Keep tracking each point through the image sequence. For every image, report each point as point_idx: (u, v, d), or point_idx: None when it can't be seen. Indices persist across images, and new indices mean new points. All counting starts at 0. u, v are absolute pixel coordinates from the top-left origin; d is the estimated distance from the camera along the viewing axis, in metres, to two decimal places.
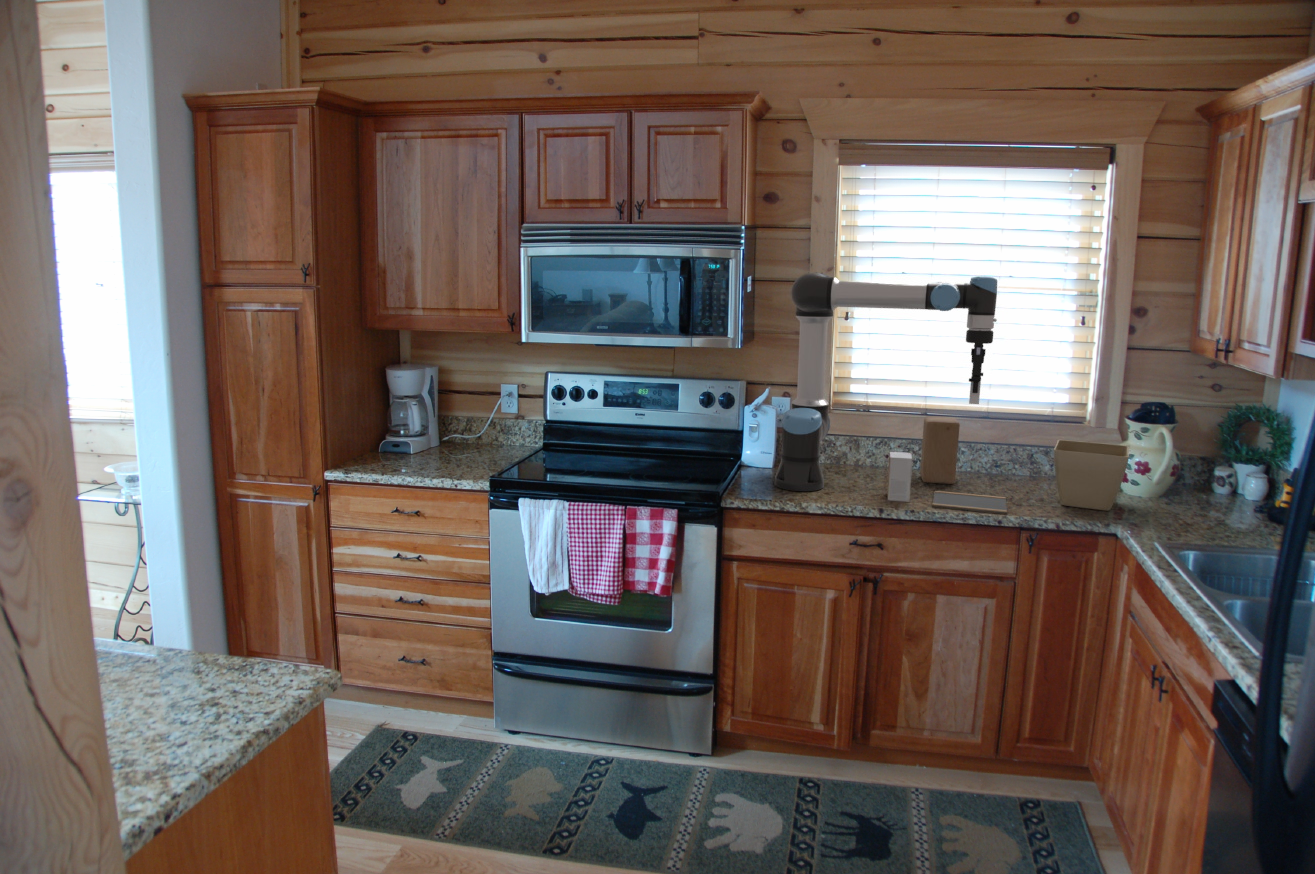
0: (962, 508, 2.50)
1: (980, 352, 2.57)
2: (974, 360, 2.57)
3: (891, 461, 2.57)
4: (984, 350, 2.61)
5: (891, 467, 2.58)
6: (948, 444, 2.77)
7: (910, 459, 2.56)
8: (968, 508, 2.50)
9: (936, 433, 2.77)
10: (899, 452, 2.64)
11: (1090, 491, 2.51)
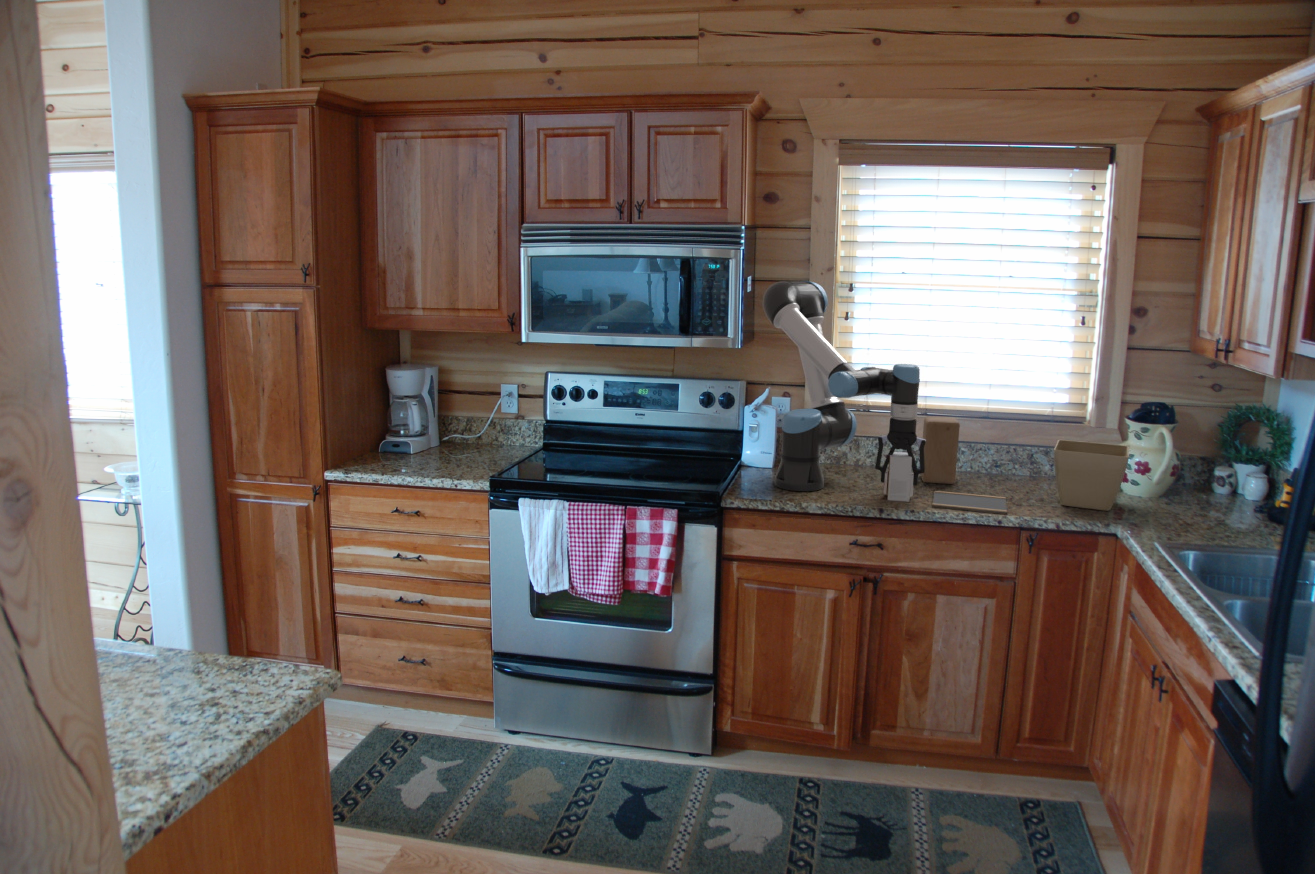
0: (962, 508, 2.50)
1: None
2: None
3: (891, 461, 2.57)
4: (895, 439, 2.58)
5: (891, 467, 2.58)
6: (948, 444, 2.77)
7: (910, 459, 2.56)
8: (968, 508, 2.50)
9: (936, 433, 2.77)
10: (899, 452, 2.64)
11: (1090, 491, 2.51)
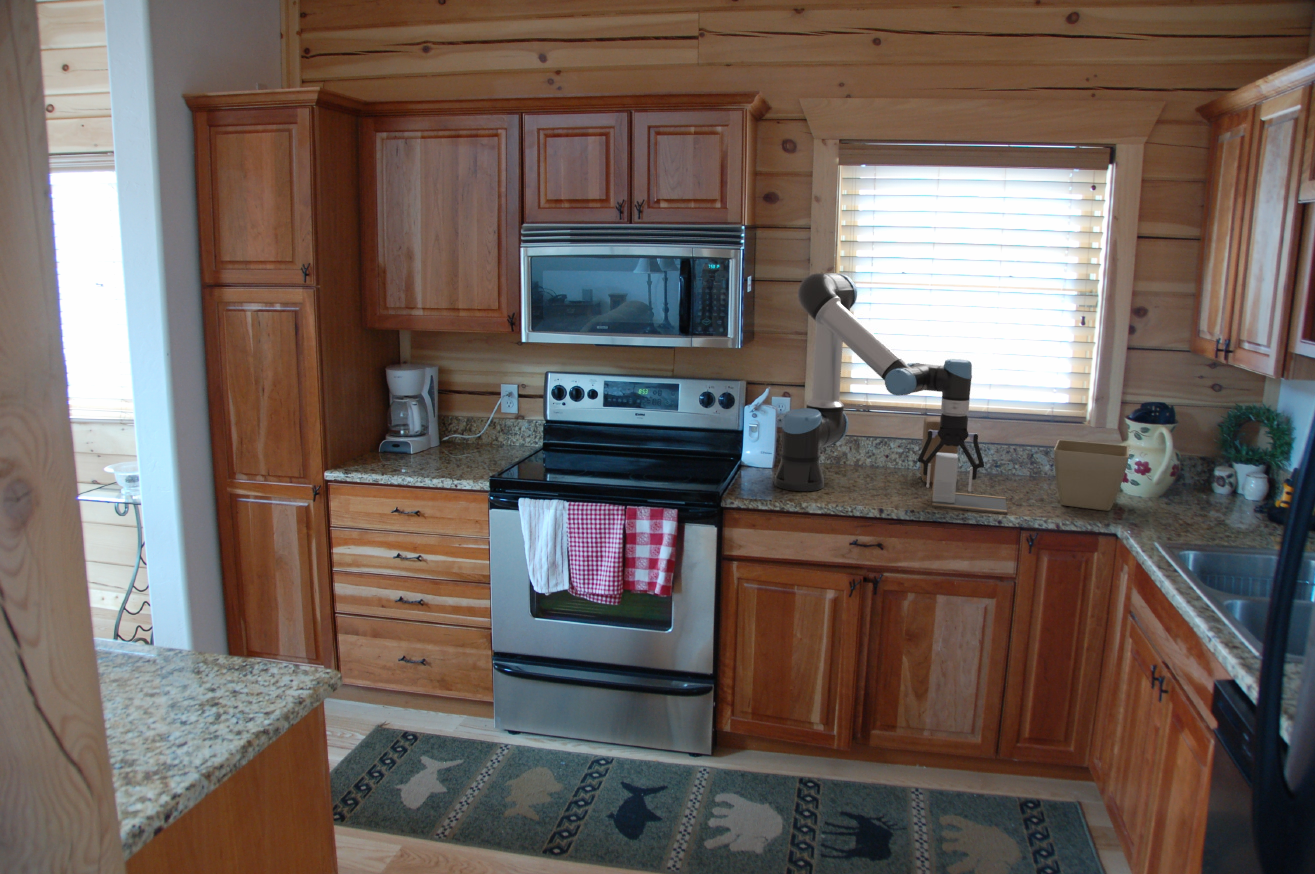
0: (962, 508, 2.50)
1: None
2: None
3: (937, 462, 2.54)
4: (946, 435, 2.54)
5: (936, 468, 2.55)
6: None
7: (956, 460, 2.53)
8: (968, 508, 2.50)
9: None
10: (945, 453, 2.60)
11: (1090, 491, 2.51)
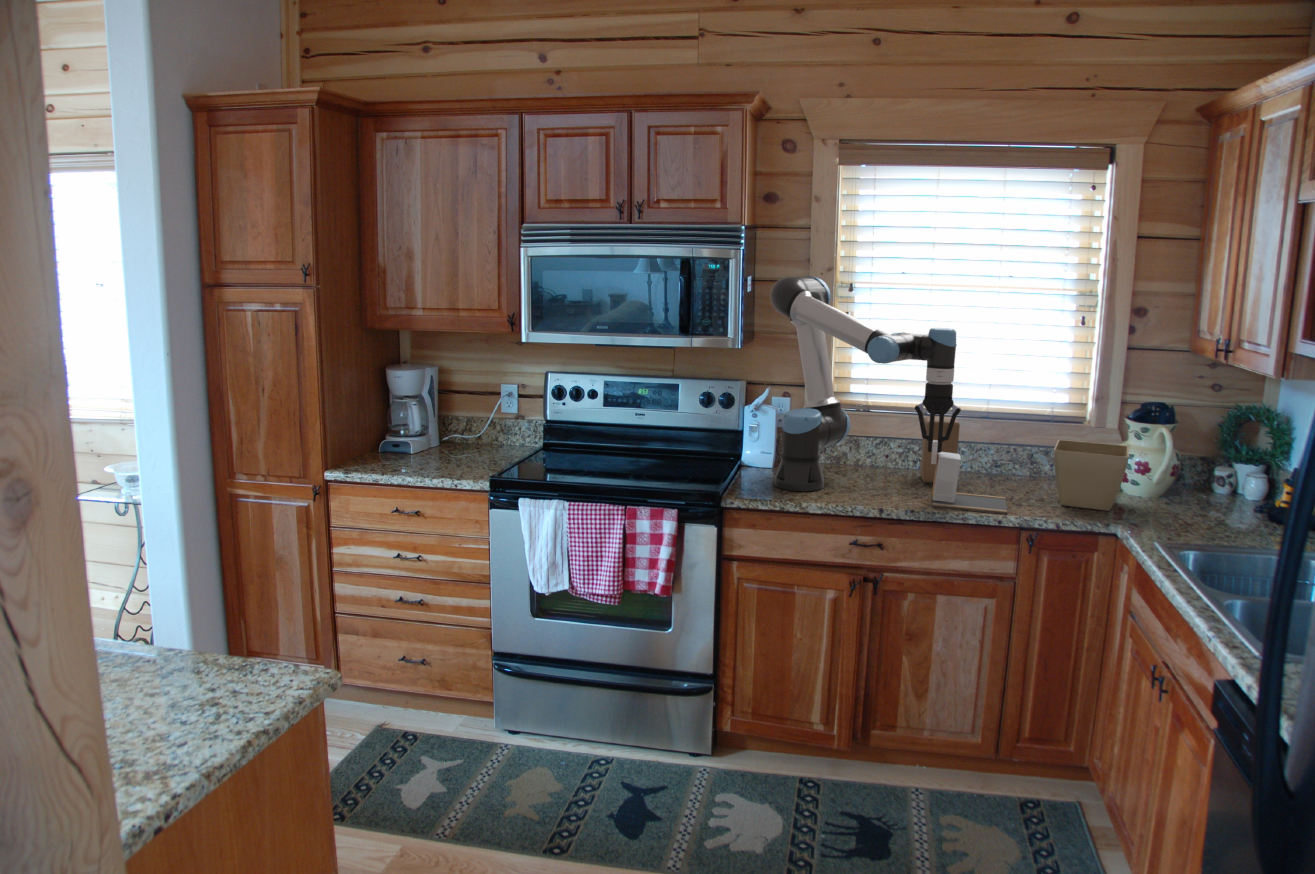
0: (962, 508, 2.50)
1: None
2: None
3: (939, 461, 2.54)
4: (930, 405, 2.54)
5: (939, 467, 2.54)
6: (948, 444, 2.77)
7: (959, 460, 2.52)
8: (968, 508, 2.50)
9: (936, 433, 2.77)
10: None
11: (1090, 491, 2.51)
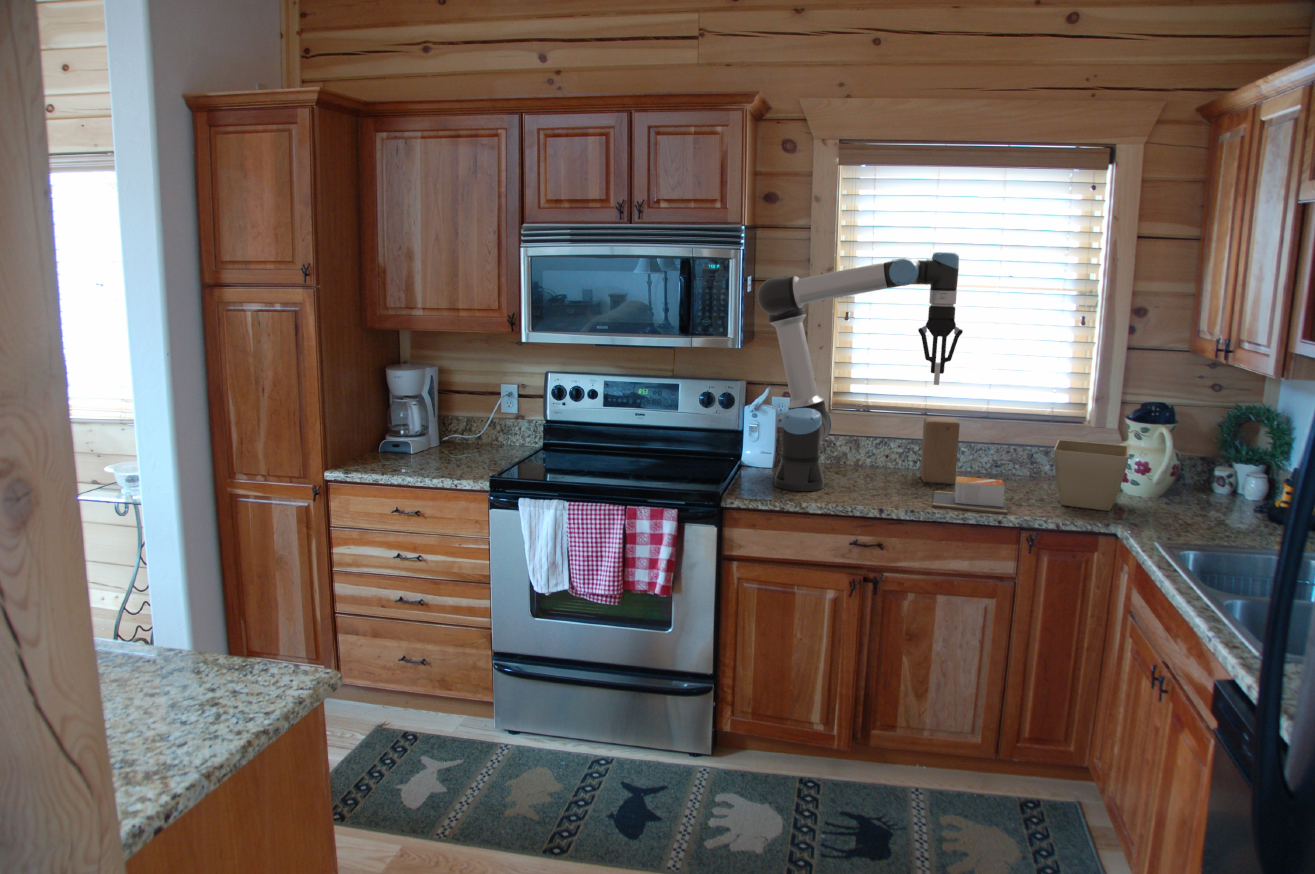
0: (962, 508, 2.50)
1: (920, 333, 2.66)
2: None
3: (1000, 487, 2.51)
4: (933, 327, 2.64)
5: (993, 487, 2.51)
6: (948, 444, 2.77)
7: (1002, 505, 2.51)
8: (968, 508, 2.50)
9: (936, 433, 2.77)
10: None
11: (1090, 491, 2.51)
